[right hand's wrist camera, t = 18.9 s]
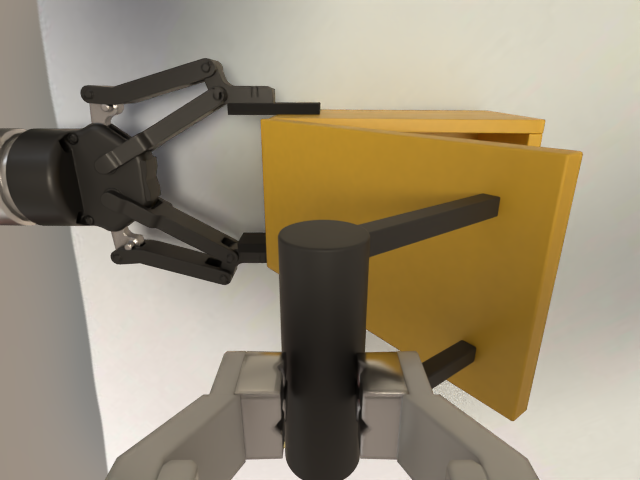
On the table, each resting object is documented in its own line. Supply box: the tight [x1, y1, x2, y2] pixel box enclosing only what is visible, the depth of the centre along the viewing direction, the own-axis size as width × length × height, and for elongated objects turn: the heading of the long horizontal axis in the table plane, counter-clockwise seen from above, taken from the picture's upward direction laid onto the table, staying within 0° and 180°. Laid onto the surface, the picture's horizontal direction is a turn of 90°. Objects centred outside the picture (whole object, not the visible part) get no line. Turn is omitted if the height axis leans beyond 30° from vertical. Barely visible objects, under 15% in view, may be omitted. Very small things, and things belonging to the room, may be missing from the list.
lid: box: [261, 118, 583, 480], centre depth 18 cm, size 18×10×9 cm
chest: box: [269, 110, 545, 147], centre depth 32 cm, size 17×10×11 cm, turn 90°
